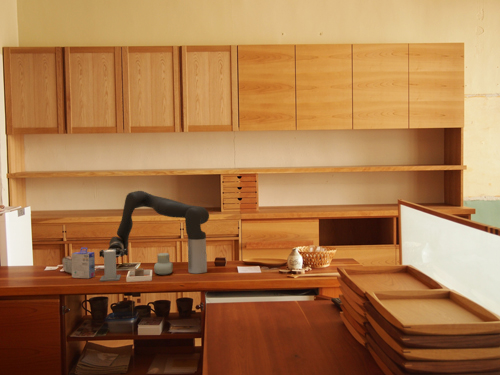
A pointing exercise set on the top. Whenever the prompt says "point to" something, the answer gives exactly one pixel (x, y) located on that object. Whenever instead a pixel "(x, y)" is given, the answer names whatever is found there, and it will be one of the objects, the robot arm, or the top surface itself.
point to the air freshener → (163, 264)
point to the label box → (110, 264)
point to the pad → (111, 278)
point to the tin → (67, 264)
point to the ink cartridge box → (83, 264)
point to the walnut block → (139, 272)
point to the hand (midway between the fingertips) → (112, 255)
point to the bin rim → (139, 278)
